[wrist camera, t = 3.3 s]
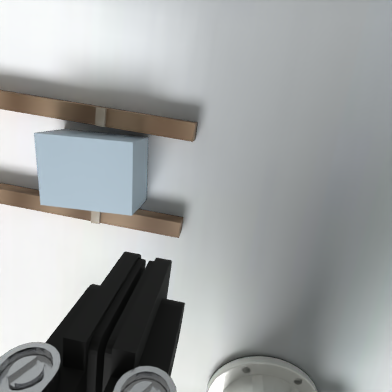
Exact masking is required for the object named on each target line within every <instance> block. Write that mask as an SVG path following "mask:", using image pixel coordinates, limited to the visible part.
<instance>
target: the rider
mask: <svg viewBox="0 0 392 392" xmlns="http://www.w3.org/2000/svg"><path fill="white" fill-rule="evenodd" d="M34 137H35V149H36V160H37V171H38V183H39V194H40V205H46V206H54V207H63V208H71V209H80V210H88V211H96V212H105V213H113V214H122V215H130V216H132V215H133V214H134V213H135V212H136V211H137V210H138V209H139V208H140V206H141V205H142V204H143V203H144V202H145V201H146V200H147V165H148V137H143V136H132V135H121V134H111V133H100V132H90V131H79V130H68V129H61V130H54V131H46V132H38V133H34Z"/></svg>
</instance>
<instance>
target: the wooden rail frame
mask: <svg viewBox="0 0 392 392" xmlns="http://www.w3.org/2000/svg"><path fill="white" fill-rule="evenodd" d="M0 109H3V110H9V111H15V112H21V113H27V114H33V115H39V116H45V117H51V118H56V119H62V120H68V121H74V122H80V123H86V124H92V125H95V126H101V127H110V128H115V129H121V130H127V131H133V132H139V133H145V134H151V135H157V136H163V137H169V138H174V139H180V140H186V141H192V142H193V141H194V140H195V136H196V129H197V122H191V121H185V120H179V119H173V118H167V117H161V116H155V115H149V114H143V113H137V112H131V111H125V110H119V109H113V108H106V107H100V106H94V105H88V104H82V103H76V102H70V101H64V100H58V99H52V98H46V97H40V96H34V95H28V94H22V93H16V92H9V91H3V90H0ZM0 204H6V205H11V206H16V207H21V208H26V209H31V210H37V211H42V212H47V213H52V214H57V215H63V216H68V217H73V218H78V219H83V220H89V221H91V223H96V224H100V223H104V224H109V225H114V226H120V227H125V228H130V229H135V230H140V231H146V232H151V233H156V234H161V235H166V236H171V237H177V238H179V236H180V233H181V230H182V223H183V217H179V216H174V215H168V214H163V213H158V212H152V211H147V210H142V209H138V210H137V211H136V212H135V213H134V214H133V215H132V216H130V215H122V214H113V213H105V212H96V211H88V210H80V209H71V208H63V207H54V206H46V205H40V194H39V190H35V189H30V188H25V187H19V186H14V185H9V184H3V183H0Z"/></svg>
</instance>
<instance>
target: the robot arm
mask: <svg viewBox="0 0 392 392" xmlns="http://www.w3.org/2000/svg"><path fill="white" fill-rule="evenodd" d="M145 264H146V260H144V259H141V255H140V254H135V253H130V252H124V253H123V255H122V256H121V257H120V259H119V260H118V262H117V263H116V264H115V266H114V267H113V269H112V270H111V271H110V273H109V274H108V276H107V277H106V278H105V280H104V281H103V282H102V284H101V285H95V284H92V285H90V286H89V287H88V288H87V290H86V291H85V292H84V294H83V295H82V296H81V297H80V299H79V300H78V301H77V303H76V304H75V305H74V306H73V308H72V309H71V310H70V312H69V313H68V314H67V316H66V317H65V318H64V319H63V321H62V322H61V323H60V325H59V326H58V327H57V328H56V330H55V331H54V332H53V334H52V335H51V336H50V337H49V339H48V340H47V341H46V343H42V342H32V343H27V344H23V345H20V346H18V347H15V348H13V349H11V350H9V351H8V352H7V353H5V354H4V355H3V356H1V357H0V392H176V386H175V384H174V382H173V380H172V378H171V377H170V376H171V371H172V367H173V362H174V358H175V353H176V349H177V344H178V339H179V334H180V329H181V323H182V318H183V312H184V305H185V303H183V302H178V301H173V300H168V299H167V292H168V285H169V278H170V271H171V264H172V261H171V260H166V259H161V258H156V259H155V261H149V262H148V264H147V266H146V268H145ZM207 392H318V391H317V389H316V387H315V385H314V383H313V382H312V380H311V379H310V378H309V377H308V375H307V374H305V373H304V372H303V371H302V370H301V369H299V368H298V367H296V366H294V365H292V364H291V363H288V362H286V361H283V360H281V359H277V358H272V357H264V356H252V357H244V358H240V359H236V360H234V361H232V362H229V363H227V364H225V365H224V366H223V367H221V368H220V369H219V370H218V371H217V372H216V373H215V374H214V375H213V376H212V378H211V380H210V381H209V384H208V387H207Z"/></svg>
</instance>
